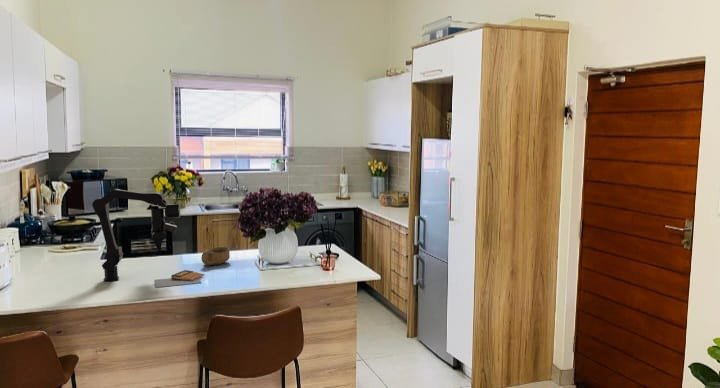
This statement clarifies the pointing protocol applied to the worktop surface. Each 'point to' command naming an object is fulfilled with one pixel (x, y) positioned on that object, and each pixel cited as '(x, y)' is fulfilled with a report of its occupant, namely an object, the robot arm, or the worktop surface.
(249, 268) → the worktop surface
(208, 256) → the bowl
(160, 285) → the rubber mat
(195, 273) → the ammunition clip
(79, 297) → the worktop surface
